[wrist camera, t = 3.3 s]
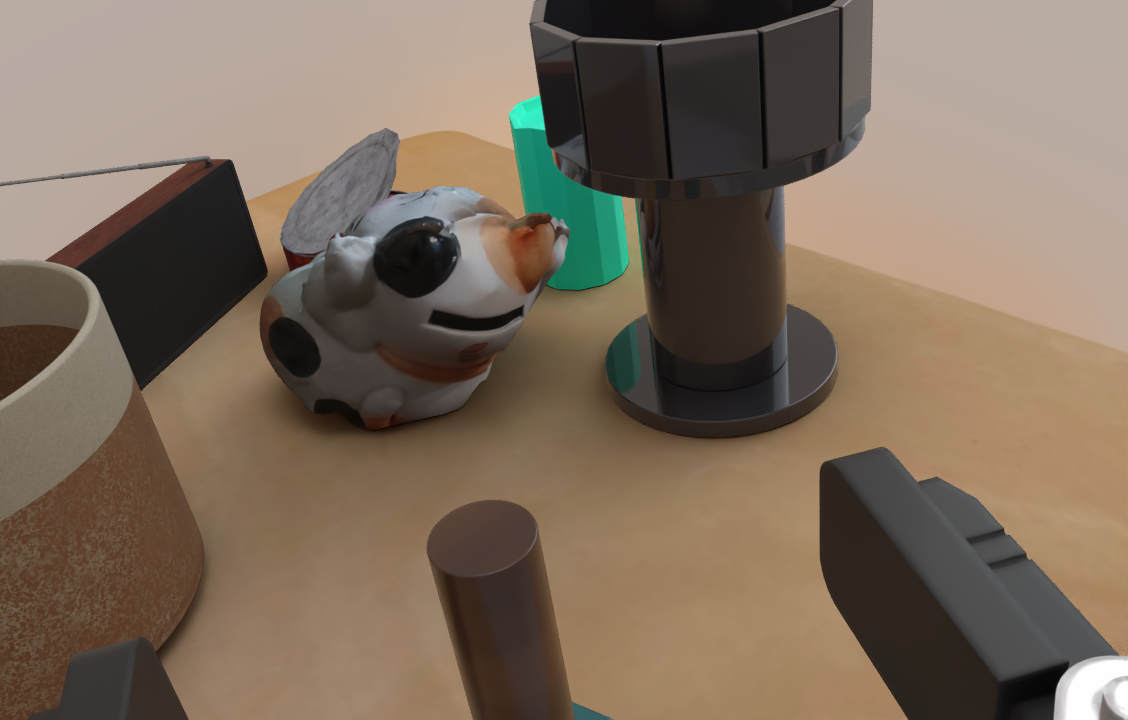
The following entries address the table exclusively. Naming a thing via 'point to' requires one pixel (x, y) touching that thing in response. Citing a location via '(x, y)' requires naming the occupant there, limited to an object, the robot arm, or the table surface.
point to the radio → (169, 259)
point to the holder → (587, 713)
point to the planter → (79, 491)
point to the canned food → (340, 196)
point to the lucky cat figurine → (408, 305)
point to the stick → (500, 612)
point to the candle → (568, 207)
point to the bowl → (708, 185)
